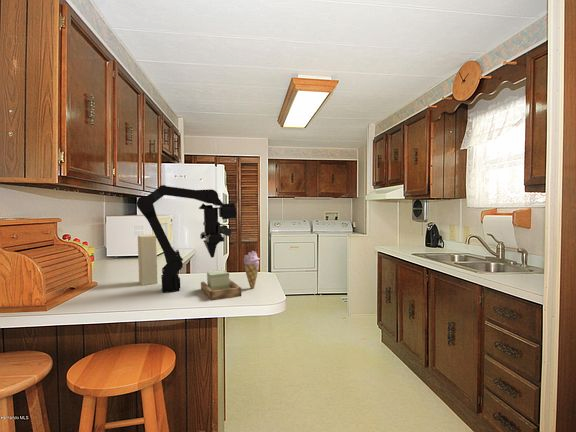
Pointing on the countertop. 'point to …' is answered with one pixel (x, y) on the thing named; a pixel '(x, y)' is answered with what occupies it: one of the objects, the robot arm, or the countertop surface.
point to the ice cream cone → (251, 267)
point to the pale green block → (218, 280)
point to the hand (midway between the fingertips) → (212, 257)
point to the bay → (221, 291)
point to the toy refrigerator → (147, 259)
